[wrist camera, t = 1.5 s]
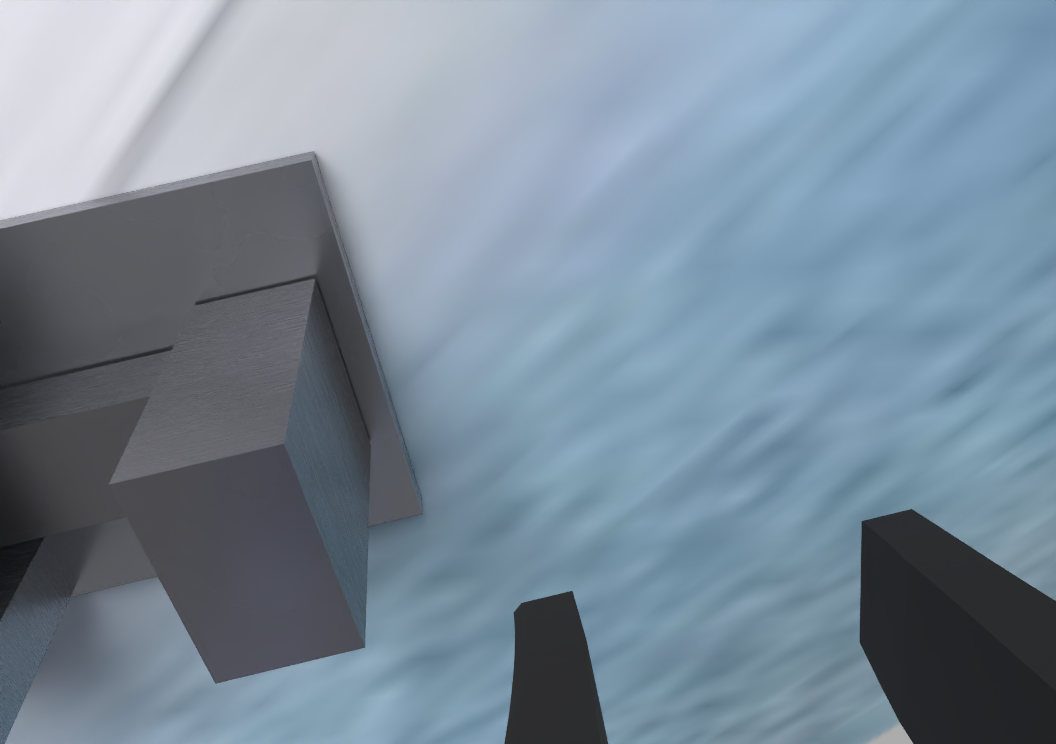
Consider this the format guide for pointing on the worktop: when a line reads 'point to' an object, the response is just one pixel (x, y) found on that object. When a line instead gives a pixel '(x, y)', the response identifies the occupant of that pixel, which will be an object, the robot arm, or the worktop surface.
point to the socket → (163, 346)
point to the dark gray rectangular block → (214, 476)
